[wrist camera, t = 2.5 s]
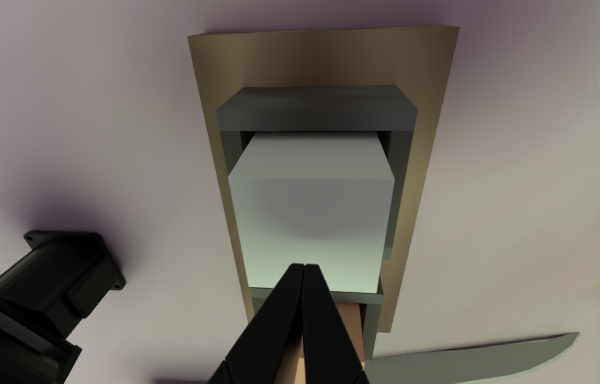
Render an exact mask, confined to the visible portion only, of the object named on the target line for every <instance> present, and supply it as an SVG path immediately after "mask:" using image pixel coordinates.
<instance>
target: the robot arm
mask: <svg viewBox="0 0 600 384" xmlns="http://www.w3.org/2000/svg"><path fill="white" fill-rule="evenodd" d="M23 237H24V239H25V240H26V241H27V243H28V244H29V246H30V247H31V248H32V251H30V252H29V253H28V254H27V255H25V256H24V257H23V258H22V259H20V260H19V261H18V262H16V263H15V264H14V265H13V266H11V267H10V268H9V269H8V270H6V271H5V272H4V273H3V274H1V275H0V384H64V382H65V381H66V379H67V377H68V375H69V373H70V371H71V370H72V368H73V366H74V364H75V362H76V360H77V359H78V357H79V355H80V353H81V351H82V348H80V347H79V346H77V345H75V346H74V345H73V344H71V343H70V342H68V341H67V340H66V338H67V337H68V336H69V335H70V333H71V332H72V331H73V330H74V328H75V327H76V326H77V325H78V324H79V322H80V321H81V320H82V319H85V318H87V317H88V316H89V315H90V314H91V312H92V311H93V310H94V309H95V307H96V306H97V305H98V303H99V302H100V301H101V300H102V298H103V297H104V296H105V295H106V293H107V292H108V291H109V290H122V289H123V288H124V286H125V283H124V281H123V279H122V277H121V275H120V273H119V271H118V269H117V267H116V266H115V264H114V262H113V260H112V258H111V256H110V254H109V252H108V250H107V249H106V247H105V245H104V243H103V241H102V239H101V237H100V236H99V235H98V234H95V233H82V232H53V231H28V232H27V233H26V234H24V236H23ZM302 335H303V353H304V370H305V384H370V382H369V380H368V377H367V375H366V373H365V371H364V370H363V366H362V364H361V361H360V359H359V357H358V354H357V352H356V350H355V347H354V345H353V343H352V341H351V338H350V336H349V334H348V331H347V329H346V327H345V324H344V322H343V320H342V317H341V315H340V313H339V310H338V308H337V306H336V303H335V301H334V299H333V296H332V294H331V292H330V289H329V287H328V285H327V282H326V280H325V278H324V275H323V273H322V271H321V268H320V266H319V265H318V264H309V263H307V264H305V265H304V264H303V263H291V264H290V265H289V267H288V268H287V270H286V271H285V273H284V274H283V275H282V277H281V278H280V280H279V281H278V283H277V284H276V285H275V287H274V288H273V290H272V291H271V293H270V294H269V295H268V297H267V298H266V300H265V301H264V303H263V304H262V305H261V307H260V308H259V310H258V311H257V313H256V314H255V315H254V317H253V318H252V320H251V321H250V323H249V324H248V325H247V327H246V328H245V330H244V331H243V333H242V334H241V335H240V337H239V338H238V340H237V341H236V343H235V344H234V345H233V347H232V348H231V350H230V351H229V353H228V354H227V355H226V357H225V360H223V361H222V362H221V364H220V365H219V367H218V368H217V370H216V371H215V372H214V374H213V375H212V377H211V378H210V379H209V381H208V382H207V383H206V384H294V383H295V378H296V372H297V366H298V361H299V355H300V349H301V343H302Z"/></svg>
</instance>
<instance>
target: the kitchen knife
mask: <svg viewBox="0 0 600 384" xmlns="http://www.w3.org/2000/svg"><path fill="white" fill-rule="evenodd" d="M579 336H580V332H575V333H569V334H567V335H564V336H561V337H558V338H554V339H551V340H548V341H543V342H533V343H524V344H514V345H504V346H495V347H485V348H475V349H465V350H451V351H435V352H422V353H414V354H406V355H399V356H391V357H383V358H375V359H372V361H371V366H370V367H367V366H364V371H365V373H366V375H367V377H368V380H369V382H370V384H475V383H481V382H488V381H495V380H502V379H509V378H513V377H516V376H520V375H524V374H527V373H530V372H532V371H534V370H536V369H538V368H540V367H543V366H545V365H547V364H549V363H551V362H553V361H555V360H556V359H558V358H559V357H561V356H562V355H563V354H565V353H566V352H568V351H569V350H570V349H571V348H572V347H573V345H574V344H575V342H576V340H577V339H578V337H579Z"/></svg>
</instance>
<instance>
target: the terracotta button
mask: <svg viewBox="0 0 600 384" xmlns="http://www.w3.org/2000/svg"><path fill="white" fill-rule="evenodd" d="M335 303H336V306H337V308H338V310H339V313H340V315H341V317H342V320H343V322H344V324H345V327H346V329H347V331H348V334H349V336H350V338H351V341H352V343H353V345H354V347H355V350H356V352H357V354H358V357H359V359H360V361H361V364H362V366H363V370H364V365H365V358H364V348H363V338H362V328H361V318H360V309H359V303H349V302H335ZM294 384H305V370H304V353H303V335H302V343H301V349H300V355H299V361H298V366H297V372H296V378H295V383H294Z"/></svg>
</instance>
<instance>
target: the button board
mask: <svg viewBox="0 0 600 384" xmlns="http://www.w3.org/2000/svg"><path fill="white" fill-rule="evenodd" d="M459 28H460V27H454V26H445V25H440V26H411V27H382V28H353V29H323V30H294V31H265V32H236V33H207V34H198V35H192V36H187V38H188V42H189V47H190V52H191V56H192V61H193V66H194V70H195V75H196V80H197V84H198V89H199V94H200V99H201V103H202V108H203V113H204V117H205V122H206V127H207V131H208V136H209V141H210V145H211V150H212V155H213V159H214V164H215V169H216V174H217V178H218V183H219V188H220V192H221V197H222V202H223V206H224V211H225V216H226V220H227V225H228V230H229V235H230V239H231V244H232V249H233V253H234V258H235V263H236V267H237V272H238V277H239V281H240V286H241V291H242V296H243V300H244V305H245V310H246V314H247V319H248V324H249V323H250V321H251V320H252V318H253V317H254V315H255V314H256V313H257V311H258V310H259V308H260V307H261V305H262V304H263V303H264V301H265V300H266V298H267V297H268V295H269V294H270V293H271V291H272V290H273V288H263V287H249V285H248V280H247V275H246V270H245V264H244V259H243V254H242V249H241V243H240V238H239V233H238V228H237V222H236V217H235V212H234V207H233V201H232V196H231V191H230V186H229V180H228V176H229V175H230V173H231V172H232V170H233V168H234V167H235V165H236V163H237V162H238V160H239V159H240V157H241V155H242V154H243V152H244V151H245V149H246V147H247V146H248V144H249V143H250V141H251V139H252V138H253V136H254V135H255V133H256V132H376V133H377V135H378V138H379V141H380V143H381V146H382V148H383V151H384V153H385V156H386V158H387V161H388V164H389V166H390V169H391V171H392V174H393V176H394V179H395V182H394V188H393V194H392V200H391V206H390V212H389V218H388V224H387V231H386V237H385V243H384V249H383V255H382V261H381V267H380V273H379V280H378V286H377V292H376V293H363V292H343V291H330V292H331V294H332V296H333V299H334V301H335V302H349V303H359V309H360V318H361V328H362V338H363V348H364V358H365V365H364V366H367V367H370V366H371V361H372V355H373V350H374V344H375V339H376V334H377V332H383V333H390V331H391V327H392V322H393V318H394V314H395V309H396V305H397V300H398V296H399V292H400V287H401V283H402V278H403V274H404V270H405V265H406V261H407V256H408V252H409V248H410V243H411V239H412V234H413V230H414V226H415V221H416V217H417V212H418V208H419V204H420V199H421V195H422V190H423V186H424V182H425V177H426V173H427V168H428V164H429V160H430V155H431V151H432V147H433V142H434V138H435V133H436V129H437V125H438V120H439V116H440V111H441V107H442V103H443V98H444V94H445V89H446V85H447V81H448V76H449V72H450V67H451V63H452V59H453V54H454V50H455V45H456V41H457V37H458V32H459Z"/></svg>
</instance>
